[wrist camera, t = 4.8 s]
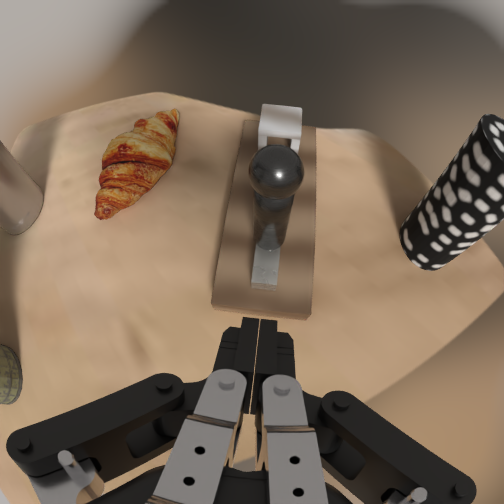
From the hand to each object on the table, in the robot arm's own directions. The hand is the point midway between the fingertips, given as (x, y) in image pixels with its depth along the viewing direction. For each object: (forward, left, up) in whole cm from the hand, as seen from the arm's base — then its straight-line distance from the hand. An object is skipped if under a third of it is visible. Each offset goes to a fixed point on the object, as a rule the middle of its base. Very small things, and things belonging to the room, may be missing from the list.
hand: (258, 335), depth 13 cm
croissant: (-30, +3, -19) cm, 36 cm away
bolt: (-9, +9, -16) cm, 20 cm away
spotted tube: (+3, +27, -19) cm, 33 cm away
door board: (-13, +13, -19) cm, 26 cm away
